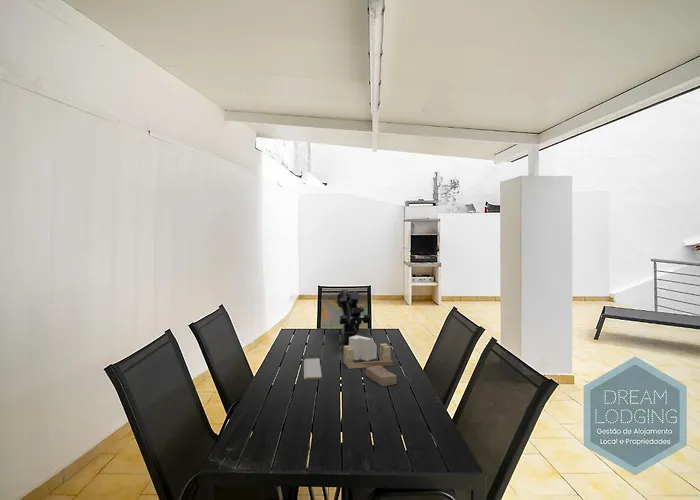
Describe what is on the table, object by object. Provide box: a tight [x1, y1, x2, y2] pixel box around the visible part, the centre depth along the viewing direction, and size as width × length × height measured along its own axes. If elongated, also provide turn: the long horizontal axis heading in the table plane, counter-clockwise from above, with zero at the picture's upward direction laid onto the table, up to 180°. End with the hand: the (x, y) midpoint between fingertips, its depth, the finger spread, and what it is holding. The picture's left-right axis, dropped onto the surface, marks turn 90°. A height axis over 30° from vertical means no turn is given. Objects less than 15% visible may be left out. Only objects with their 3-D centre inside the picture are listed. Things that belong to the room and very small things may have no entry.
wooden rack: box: [343, 343, 394, 370], centre depth 229 cm, size 12×24×9 cm, turn 103°
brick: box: [365, 366, 397, 387], centre depth 205 cm, size 17×8×5 cm, turn 26°
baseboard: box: [303, 355, 323, 380], centre depth 221 cm, size 30×3×10 cm
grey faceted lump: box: [348, 334, 378, 362], centre depth 240 cm, size 11×11×12 cm
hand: (357, 331), depth 251 cm, fingers closed
